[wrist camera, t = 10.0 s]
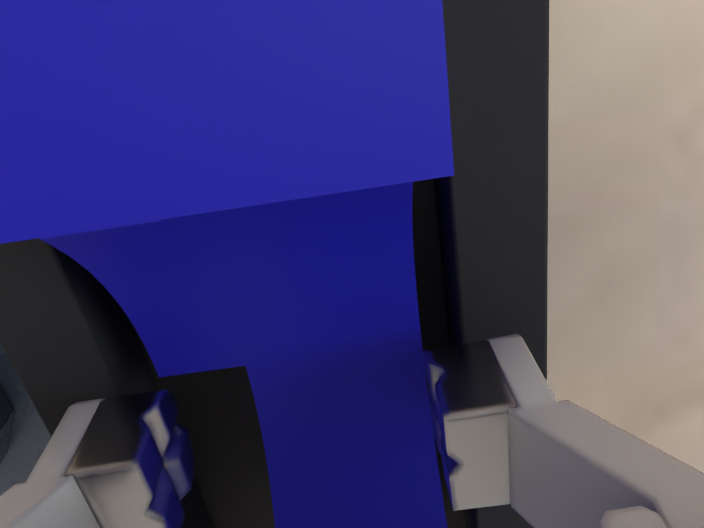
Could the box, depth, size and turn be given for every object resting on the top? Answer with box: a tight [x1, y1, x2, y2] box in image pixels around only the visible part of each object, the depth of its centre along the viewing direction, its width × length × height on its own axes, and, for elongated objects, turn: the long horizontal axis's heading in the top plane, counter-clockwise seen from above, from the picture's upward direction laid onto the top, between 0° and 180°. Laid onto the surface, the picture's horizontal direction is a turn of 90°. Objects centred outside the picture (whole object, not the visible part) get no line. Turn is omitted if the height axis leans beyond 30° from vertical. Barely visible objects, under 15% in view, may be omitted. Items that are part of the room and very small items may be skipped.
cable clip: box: [0, 0, 454, 528], centre depth 8 cm, size 12×4×6 cm, turn 9°
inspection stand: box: [0, 0, 549, 528], centre depth 13 cm, size 9×16×6 cm, turn 9°
